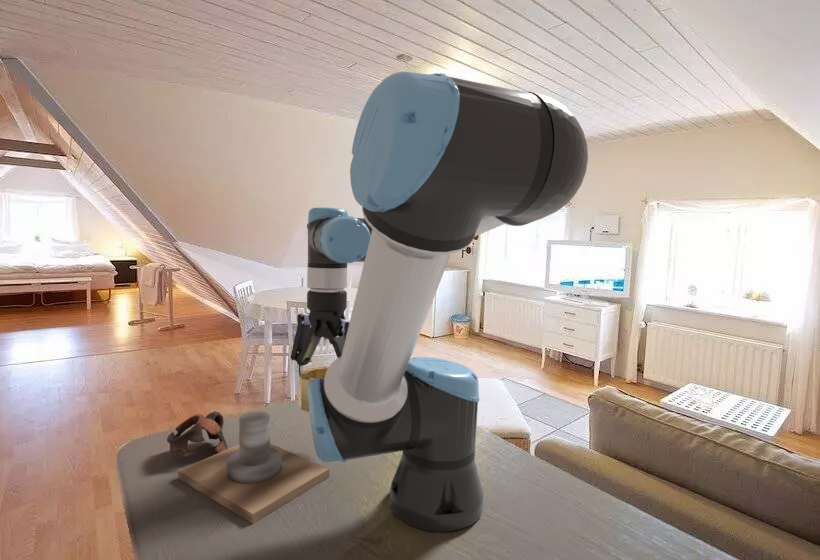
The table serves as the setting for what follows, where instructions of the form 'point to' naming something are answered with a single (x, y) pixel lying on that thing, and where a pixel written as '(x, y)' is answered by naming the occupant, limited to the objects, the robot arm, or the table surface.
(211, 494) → the stand
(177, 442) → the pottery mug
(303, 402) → the brass ring
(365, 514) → the table surface
